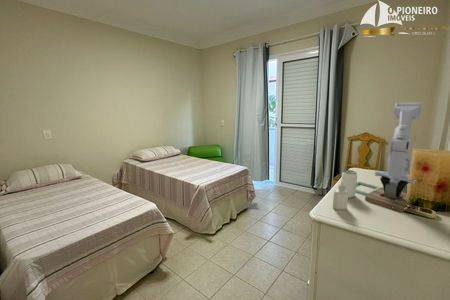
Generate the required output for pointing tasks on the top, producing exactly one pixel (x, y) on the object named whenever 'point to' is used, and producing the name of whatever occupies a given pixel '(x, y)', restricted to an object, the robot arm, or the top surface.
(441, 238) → the top surface
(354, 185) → the can
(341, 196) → the eye dropper bottle
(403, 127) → the robot arm
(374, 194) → the pallet
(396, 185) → the billet
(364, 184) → the grey rectangular frame
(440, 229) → the top surface
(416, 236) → the top surface
